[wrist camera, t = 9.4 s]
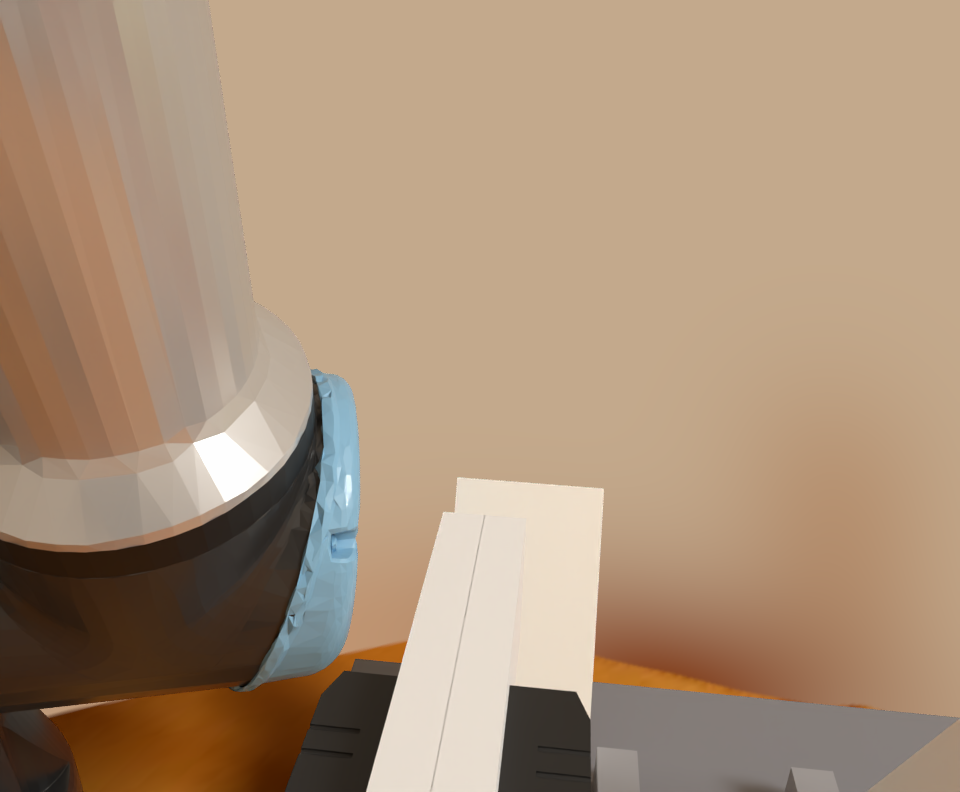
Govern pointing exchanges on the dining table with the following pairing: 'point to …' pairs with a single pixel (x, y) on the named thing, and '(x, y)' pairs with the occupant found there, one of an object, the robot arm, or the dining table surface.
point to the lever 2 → (928, 767)
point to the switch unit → (737, 741)
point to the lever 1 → (551, 576)
